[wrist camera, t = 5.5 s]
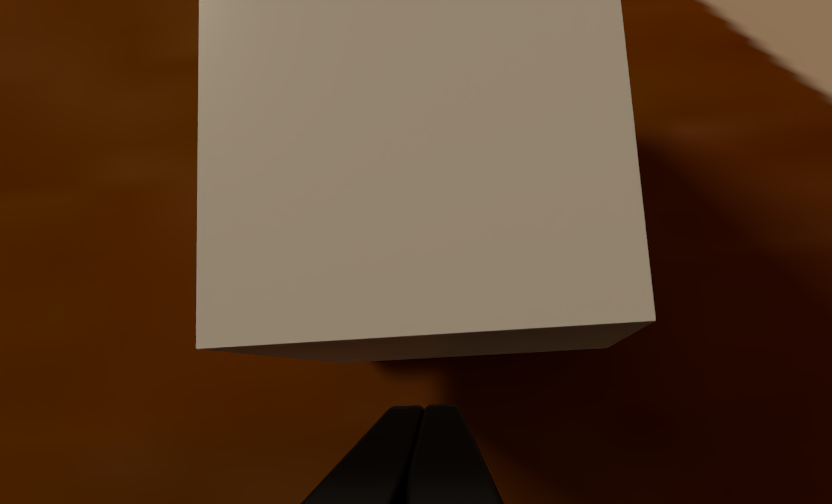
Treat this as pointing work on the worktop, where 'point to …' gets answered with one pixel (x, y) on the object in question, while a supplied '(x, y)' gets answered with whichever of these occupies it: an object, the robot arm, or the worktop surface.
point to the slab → (416, 179)
